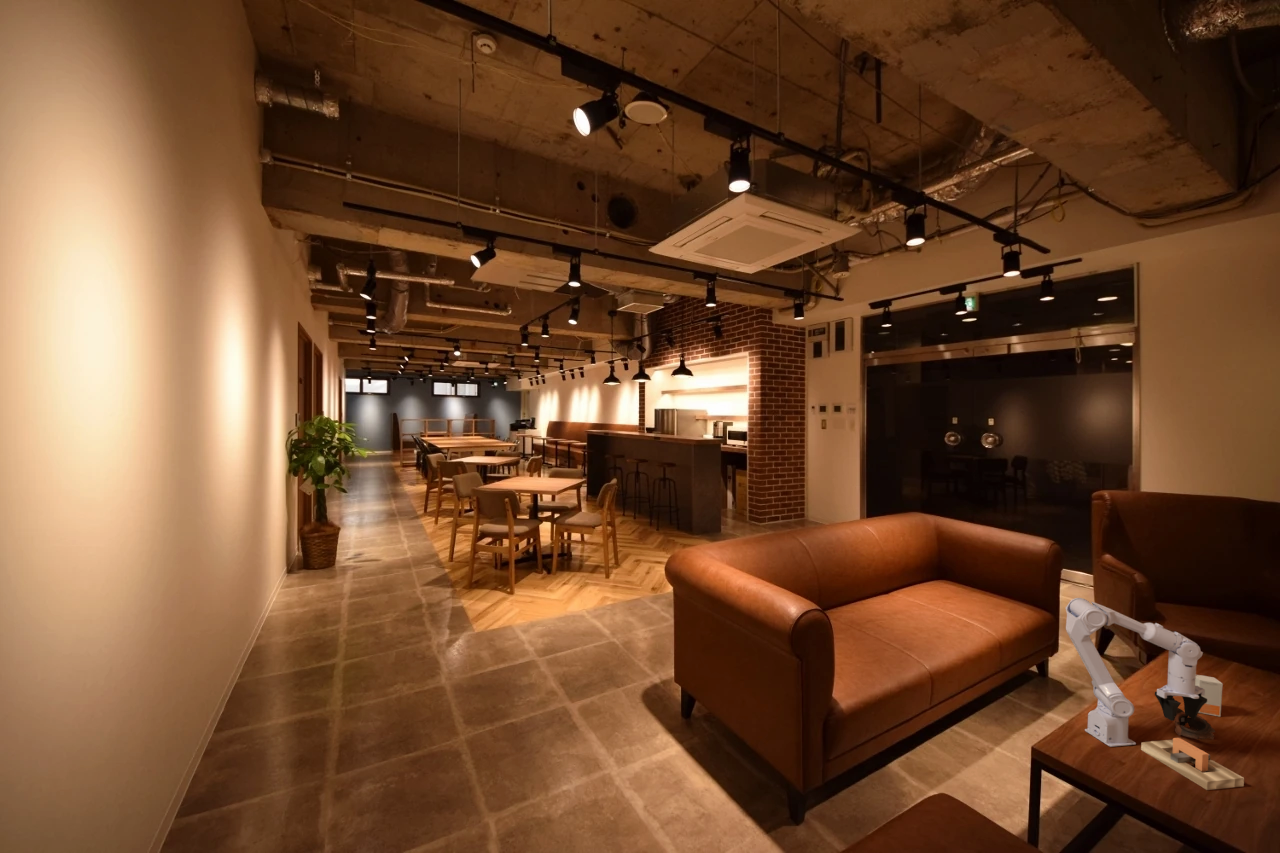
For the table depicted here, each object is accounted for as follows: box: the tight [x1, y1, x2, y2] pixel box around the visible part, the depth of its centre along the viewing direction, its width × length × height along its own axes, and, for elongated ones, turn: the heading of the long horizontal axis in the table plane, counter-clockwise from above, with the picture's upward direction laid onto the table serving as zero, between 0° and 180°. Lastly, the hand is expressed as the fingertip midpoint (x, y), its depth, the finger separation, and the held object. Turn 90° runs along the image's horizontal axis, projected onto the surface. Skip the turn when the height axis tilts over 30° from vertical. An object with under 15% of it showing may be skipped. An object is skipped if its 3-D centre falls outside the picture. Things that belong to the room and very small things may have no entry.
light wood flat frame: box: [1140, 739, 1245, 791], centre depth 143 cm, size 12×16×4 cm
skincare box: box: [1195, 674, 1224, 718], centre depth 169 cm, size 6×4×12 cm
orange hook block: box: [1172, 737, 1209, 772], centre depth 143 cm, size 2×7×5 cm, turn 7°
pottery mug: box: [1174, 707, 1216, 740], centre depth 158 cm, size 12×10×8 cm
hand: (1179, 718), depth 150 cm, fingers open, 7 cm apart
